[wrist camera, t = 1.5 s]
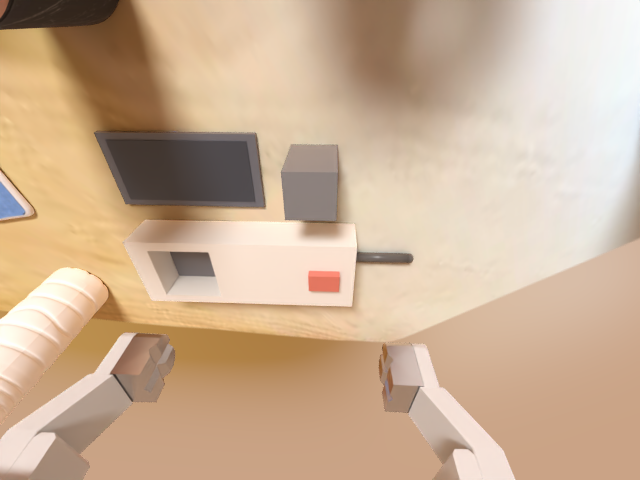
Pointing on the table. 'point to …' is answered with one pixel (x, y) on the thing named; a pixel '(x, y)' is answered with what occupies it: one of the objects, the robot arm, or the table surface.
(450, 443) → the robot arm
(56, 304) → the water bottle
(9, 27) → the travel mug
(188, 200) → the phone
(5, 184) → the tablet computer
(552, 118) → the table surface
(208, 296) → the power strip
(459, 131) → the table surface
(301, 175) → the block
